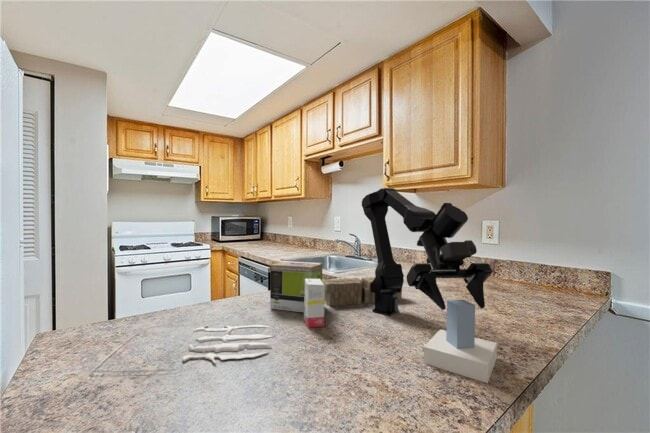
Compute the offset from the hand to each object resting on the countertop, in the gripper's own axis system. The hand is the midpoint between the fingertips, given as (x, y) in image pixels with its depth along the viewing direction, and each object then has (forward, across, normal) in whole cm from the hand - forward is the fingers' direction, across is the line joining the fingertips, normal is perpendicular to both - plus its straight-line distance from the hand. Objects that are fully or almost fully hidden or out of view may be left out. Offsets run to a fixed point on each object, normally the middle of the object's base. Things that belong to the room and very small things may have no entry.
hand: (463, 308), depth 63 cm
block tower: (-25, -9, +42) cm, 50 cm away
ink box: (-11, -29, +27) cm, 41 cm away
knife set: (-2, -57, +20) cm, 61 cm away
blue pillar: (+5, 0, +6) cm, 8 cm away
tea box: (-21, -33, +38) cm, 54 cm away
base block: (+8, 0, +9) cm, 12 cm away
